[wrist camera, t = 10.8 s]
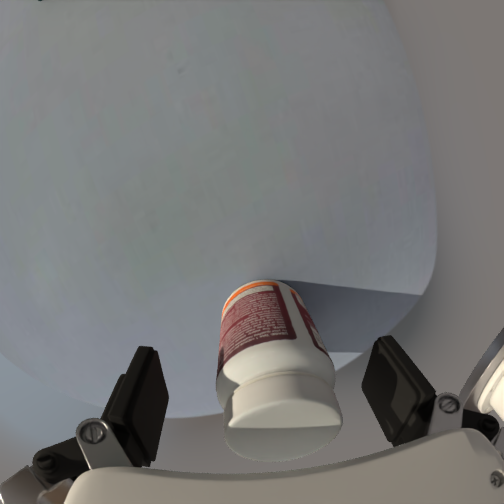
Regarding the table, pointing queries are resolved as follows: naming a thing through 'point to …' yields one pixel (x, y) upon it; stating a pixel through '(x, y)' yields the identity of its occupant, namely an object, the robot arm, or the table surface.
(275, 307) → the pill bottle
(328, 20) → the table surface
